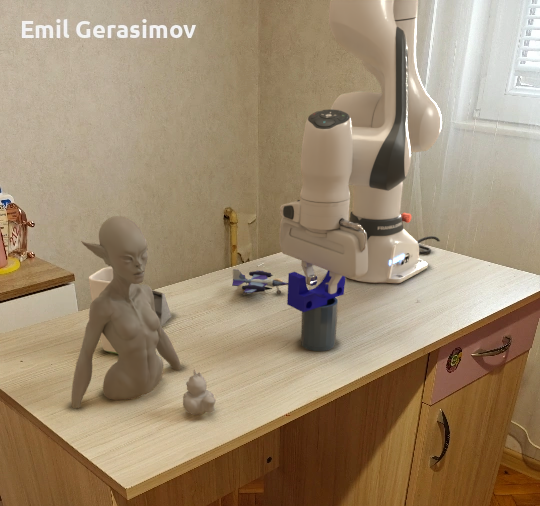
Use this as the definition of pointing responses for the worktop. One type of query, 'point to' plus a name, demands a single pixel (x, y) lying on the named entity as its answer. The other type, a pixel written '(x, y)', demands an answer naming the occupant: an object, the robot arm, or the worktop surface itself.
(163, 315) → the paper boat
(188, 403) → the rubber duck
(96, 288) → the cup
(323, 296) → the blue half clamp bracket
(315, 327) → the tumbler
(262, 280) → the toy airplane
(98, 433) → the worktop surface
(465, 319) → the worktop surface
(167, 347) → the elf figurine
